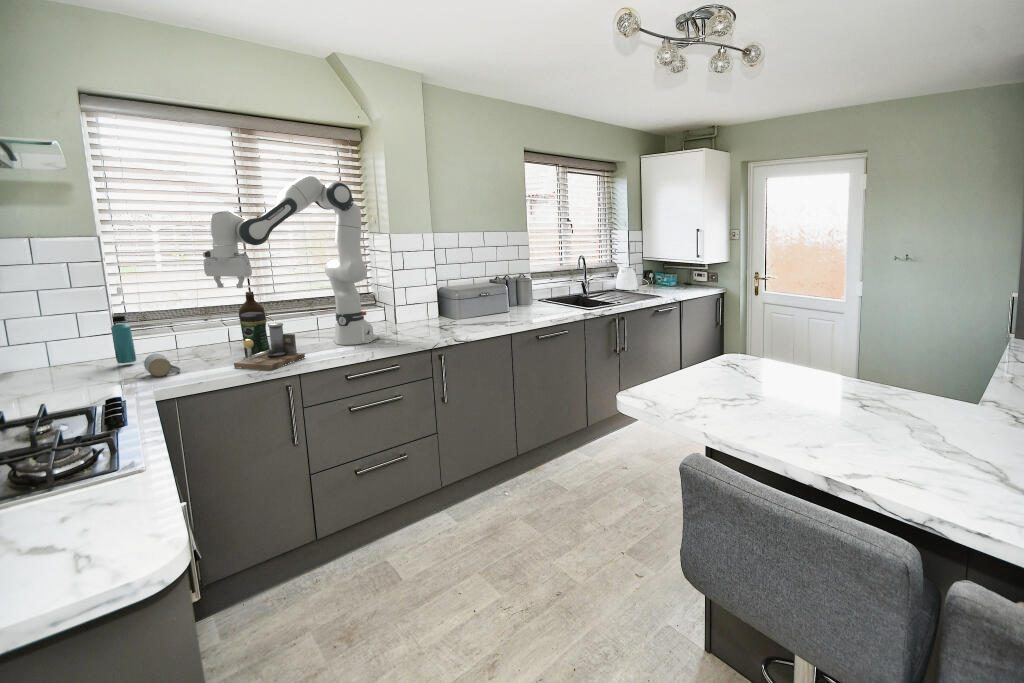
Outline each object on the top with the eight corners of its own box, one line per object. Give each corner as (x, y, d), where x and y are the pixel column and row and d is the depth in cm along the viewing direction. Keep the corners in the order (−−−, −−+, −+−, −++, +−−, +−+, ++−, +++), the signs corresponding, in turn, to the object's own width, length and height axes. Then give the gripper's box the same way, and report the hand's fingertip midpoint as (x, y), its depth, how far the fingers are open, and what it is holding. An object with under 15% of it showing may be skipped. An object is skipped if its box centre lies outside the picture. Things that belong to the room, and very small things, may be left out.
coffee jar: (273, 353, 228) (268, 310, 224) (260, 357, 221) (255, 313, 217) (254, 352, 231) (249, 310, 227) (241, 356, 223) (235, 313, 219)
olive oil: (246, 349, 236) (239, 293, 231) (240, 346, 244) (233, 292, 239) (271, 346, 243) (265, 291, 238) (264, 342, 251) (258, 290, 246)
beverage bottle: (141, 363, 214) (133, 314, 210) (124, 367, 208) (116, 317, 204) (129, 362, 216) (121, 314, 212) (113, 366, 210) (104, 316, 206)
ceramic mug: (150, 379, 191) (147, 358, 189) (145, 375, 197) (142, 354, 195) (183, 374, 198) (181, 354, 197) (178, 370, 204) (175, 350, 202)
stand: (270, 355, 224) (267, 332, 222) (305, 357, 219) (303, 334, 217) (234, 367, 205) (231, 342, 203) (271, 370, 200) (268, 344, 198)
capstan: (276, 352, 220) (273, 322, 217) (290, 353, 218) (287, 322, 215) (239, 364, 201) (235, 331, 198) (255, 365, 199) (251, 332, 197)
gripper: (253, 252, 210) (257, 287, 212) (212, 252, 215) (216, 286, 218) (241, 253, 204) (245, 289, 207) (199, 253, 209) (203, 288, 212)
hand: (230, 287), depth 212 cm, fingers open, 8 cm apart
